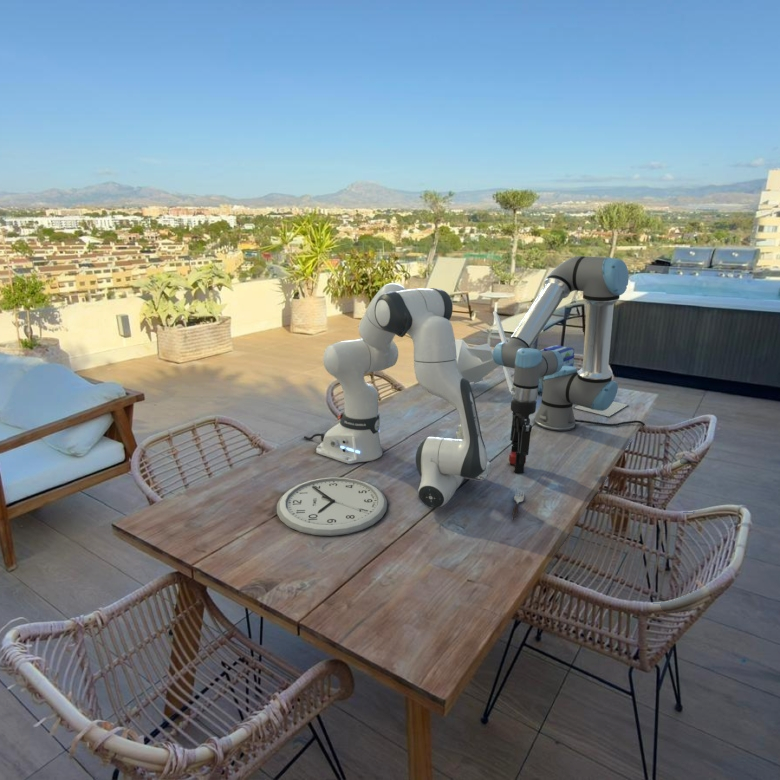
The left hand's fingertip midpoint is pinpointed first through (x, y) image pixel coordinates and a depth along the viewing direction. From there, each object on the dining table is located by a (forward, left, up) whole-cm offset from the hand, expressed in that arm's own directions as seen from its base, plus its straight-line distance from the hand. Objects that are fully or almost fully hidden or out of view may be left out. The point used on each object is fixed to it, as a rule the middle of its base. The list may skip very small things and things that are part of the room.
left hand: (462, 454), depth 162 cm
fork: (+20, -15, -6) cm, 25 cm away
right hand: (+15, +10, -6) cm, 19 cm away
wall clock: (-26, -35, -6) cm, 44 cm away
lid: (+15, +10, -2) cm, 18 cm away
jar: (0, -1, -6) cm, 6 cm away
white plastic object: (-16, +84, -6) cm, 86 cm away
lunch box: (+13, +103, -6) cm, 104 cm away
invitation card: (+37, +88, -6) cm, 95 cm away
